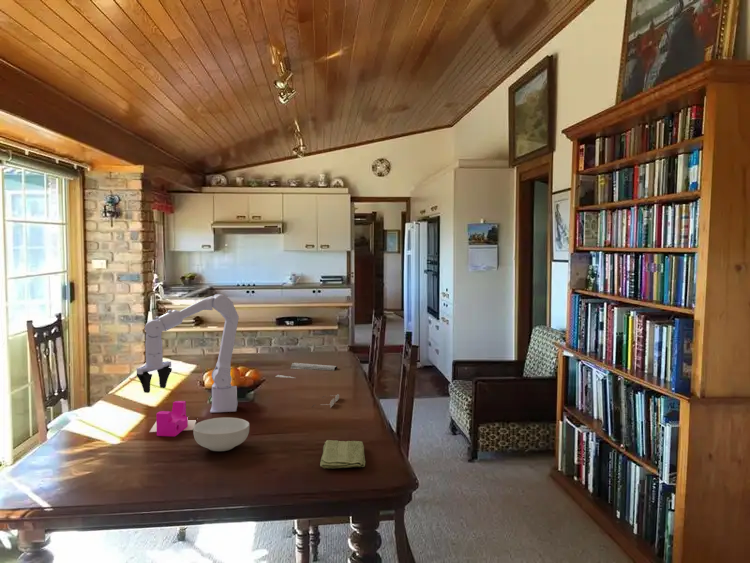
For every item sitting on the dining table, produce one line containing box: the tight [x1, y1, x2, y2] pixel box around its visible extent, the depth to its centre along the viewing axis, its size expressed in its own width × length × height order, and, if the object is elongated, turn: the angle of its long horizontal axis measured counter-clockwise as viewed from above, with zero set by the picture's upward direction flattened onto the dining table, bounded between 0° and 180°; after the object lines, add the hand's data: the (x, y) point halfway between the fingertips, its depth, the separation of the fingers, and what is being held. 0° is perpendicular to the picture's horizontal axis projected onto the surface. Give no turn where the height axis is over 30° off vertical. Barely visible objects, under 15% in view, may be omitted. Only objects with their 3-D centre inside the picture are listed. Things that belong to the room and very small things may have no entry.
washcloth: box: [319, 439, 366, 469], centre depth 166 cm, size 13×18×3 cm
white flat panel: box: [149, 420, 197, 433], centre depth 200 cm, size 14×20×1 cm
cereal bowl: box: [192, 416, 250, 452], centre depth 175 cm, size 17×17×7 cm
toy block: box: [155, 400, 189, 437], centre depth 192 cm, size 15×6×8 cm, turn 176°
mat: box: [275, 362, 338, 379], centre depth 270 cm, size 23×24×5 cm
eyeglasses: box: [311, 393, 340, 409], centre depth 222 cm, size 14×8×4 cm, turn 169°
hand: (154, 390), depth 205 cm, fingers open, 7 cm apart
